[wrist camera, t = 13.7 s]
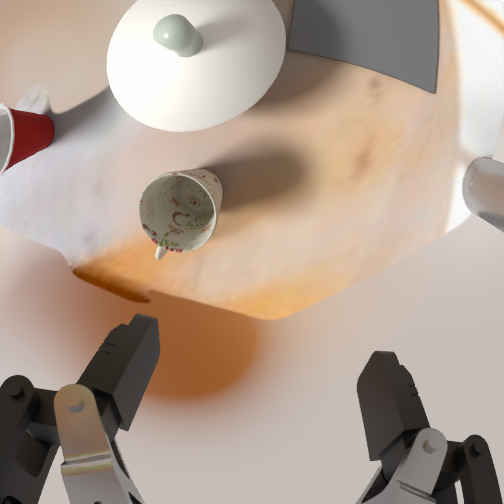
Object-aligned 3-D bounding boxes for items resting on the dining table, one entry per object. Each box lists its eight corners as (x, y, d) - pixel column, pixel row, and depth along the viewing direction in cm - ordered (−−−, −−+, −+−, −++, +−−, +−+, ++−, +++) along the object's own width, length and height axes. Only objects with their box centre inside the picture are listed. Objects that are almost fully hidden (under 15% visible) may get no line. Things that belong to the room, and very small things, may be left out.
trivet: (434, -13, 18) (436, -14, 18) (432, 93, 27) (434, 93, 26) (304, -56, 19) (304, -58, 18) (287, 49, 27) (287, 48, 27)
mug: (243, 179, 35) (231, 198, 26) (201, 256, 40) (181, 294, 31) (186, 149, 34) (156, 158, 25) (151, 228, 39) (118, 259, 30)
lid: (295, -18, 18) (299, -46, 13) (271, 141, 26) (269, 145, 21) (129, -14, 18) (104, -31, 13) (102, 129, 26) (70, 134, 21)
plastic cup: (73, 107, 31) (17, 110, 20) (56, 170, 36) (3, 190, 25) (34, 93, 30) (-18, 97, 19) (20, 151, 34) (-29, 167, 24)
